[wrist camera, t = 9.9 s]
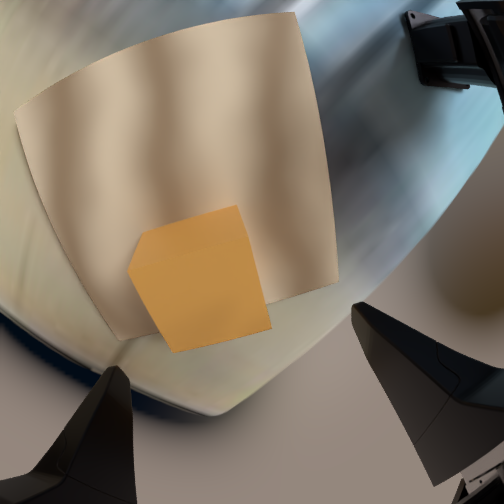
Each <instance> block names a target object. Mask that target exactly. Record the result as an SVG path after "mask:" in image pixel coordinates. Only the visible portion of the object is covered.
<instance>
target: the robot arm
mask: <svg viewBox="0 0 504 504" xmlns="http://www.w3.org/2000/svg"><path fill="white" fill-rule="evenodd" d="M456 4H457V6H458V7H459V9H460V10H462V12H463V14H464V15H457V16H450V17H444V18H439V17H435V16H431V15H428V14H424V13H420V12H416V11H406V12H405V17H406V20H407V24H408V28H409V31H410V35H411V39H412V43H413V48H414V52H415V57H416V62H417V67H418V73H419V78H420V82H421V84H422V85H424V86H437V87H450V88H460V89H469V88H470V85H478V86H486V87H493V88H497V90H498V93H499V96H500V100H501V103H502V106H503V107H502V110H503V113H504V0H460V1H458V2H456ZM411 16H412V17H411ZM425 78H426V81H425ZM351 317H352V318H351V321H352V325H353V328H354V330H355V333H356V335H357V337H358V340H359V342H360V344H361V346H362V349H363V351H364V354H365V356H366V358H367V360H368V362H369V364H370V366H371V368H372V369H373V371H374V373H375V374H376V376H377V378H378V380H379V382H380V383H381V385H382V387H383V389H384V391H385V393H386V394H387V396H388V398H389V400H390V401H391V403H392V405H393V407H394V409H395V411H396V413H397V415H398V416H399V418H400V420H401V422H402V424H403V426H404V428H405V430H406V432H407V434H408V436H409V437H410V439H411V441H412V443H413V445H414V447H415V449H416V451H417V453H418V455H419V457H420V459H421V461H422V463H423V465H424V468H425V470H426V472H427V474H428V476H429V478H430V480H431V482H432V484H433V486H434V487H435V486H437V485H439V484H440V483H442V482H444V481H446V480H447V479H449V478H451V477H453V476H454V475H456V474H457V473H459V472H461V474H462V476H463V479H461V481H460V484H459V486H458V489H457V492H456V494H455V497H454V499H453V502H452V504H504V369H501V368H496V367H493V366H490V365H488V364H485V363H483V362H480V361H478V360H475V359H473V358H470V357H468V356H466V355H463V354H461V353H459V352H457V351H454V350H453V349H451V348H449V347H447V346H445V345H443V344H441V343H439V342H436V341H435V340H434V339H432V338H430V337H428V336H426V335H424V334H422V333H420V332H419V331H417V330H415V329H413V328H411V327H409V326H408V325H406V324H404V323H402V322H400V321H398V320H396V319H394V318H393V317H391V316H389V315H387V314H385V313H383V312H381V311H380V310H378V309H376V308H374V307H372V306H370V305H368V304H367V303H365V302H358V303H356V304H353V305H352V308H351ZM133 456H134V454H133V413H132V402H131V390H130V381H129V378H128V377H127V376H126V375H125V373H124V372H123V371H122V370H121V369H120V368H119V367H118V366H111V367H108V368H107V369H106V370H105V372H104V373H103V375H102V376H101V377H100V379H99V380H98V381H97V383H96V384H95V385H94V387H93V388H92V390H91V391H90V392H89V394H88V395H87V396H86V398H85V399H84V401H83V402H82V403H81V405H80V406H79V408H78V409H77V410H76V412H75V413H74V415H73V416H72V418H71V419H70V420H69V422H68V423H67V425H66V426H65V428H64V430H63V431H62V432H61V433H60V435H59V436H58V438H57V439H56V441H55V442H54V443H53V445H52V446H51V447H50V449H49V450H48V451H47V453H46V454H45V455H44V456H43V457H42V459H41V460H40V461H39V462H38V464H37V465H36V466H35V467H34V468H33V470H31V471H30V472H29V473H27V474H24V475H21V476H17V477H13V478H9V479H5V480H0V504H137V497H136V486H135V473H134V457H133Z"/></svg>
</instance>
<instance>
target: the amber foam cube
mask: <svg viewBox="0 0 504 504" xmlns="http://www.w3.org/2000/svg"><path fill="white" fill-rule="evenodd" d="M127 272H128V274H129V276H130V278H131V280H132V282H133V284H134V286H135V288H136V290H137V292H138V293H139V295H140V297H141V299H142V301H143V303H144V305H145V306H146V308H147V310H148V312H149V314H150V315H151V317H152V319H153V321H154V322H155V324H156V326H157V327H158V329H159V331H160V333H161V334H162V336H163V338H164V339H165V341H166V342H167V344H168V346H169V347H170V349H171V351H172V352H173V353H177V352H181V351H186V350H190V349H195V348H199V347H203V346H208V345H212V344H216V343H220V342H224V341H228V340H232V339H236V338H240V337H243V336H247V335H251V334H254V333H258V332H262V331H265V330H269V329H272V327H271V323H270V319H269V315H268V311H267V307H266V303H265V299H264V296H263V292H262V288H261V284H260V280H259V276H258V272H257V268H256V264H255V260H254V256H253V252H252V248H251V245H250V241H249V237H248V234H247V231H246V228H245V226H244V223H243V220H242V218H241V215H240V212H239V209H238V207H237V205H233V206H229V207H226V208H222V209H219V210H215V211H212V212H208V213H205V214H201V215H198V216H194V217H191V218H188V219H184V220H181V221H178V222H174V223H171V224H168V225H165V226H162V227H158V228H155V229H152V230H149V231H146V232H143V233H142V235H141V238H140V240H139V243H138V245H137V247H136V250H135V252H134V255H133V257H132V260H131V262H130V265H129V267H128V270H127Z"/></svg>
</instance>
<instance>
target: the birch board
mask: <svg viewBox="0 0 504 504" xmlns="http://www.w3.org/2000/svg"><path fill="white" fill-rule="evenodd" d="M14 115H15V119H16V123H17V127H18V131H19V135H20V139H21V142H22V146H23V149H24V152H25V156H26V159H27V162H28V165H29V168H30V171H31V174H32V177H33V179H34V182H35V185H36V188H37V190H38V193H39V195H40V198H41V200H42V203H43V205H44V208H45V210H46V212H47V215H48V217H49V219H50V221H51V224H52V226H53V228H54V230H55V232H56V235H57V237H58V239H59V241H60V243H61V245H62V247H63V249H64V251H65V253H66V255H67V257H68V259H69V261H70V262H71V264H72V266H73V268H74V270H75V272H76V273H77V275H78V277H79V279H80V281H81V282H82V284H83V286H84V287H85V289H86V291H87V293H88V294H89V296H90V298H91V299H92V301H93V302H94V304H95V306H96V307H97V309H98V310H99V312H100V313H101V315H102V317H103V318H104V320H105V321H106V323H107V324H108V326H109V327H110V329H111V330H112V331H113V333H114V334H115V336H116V337H117V339H118V340H119V341H122V340H127V339H132V338H136V337H141V336H145V335H150V334H154V333H159V332H160V331H159V329H158V327H157V326H156V324H155V322H154V321H153V319H152V317H151V315H150V314H149V312H148V310H147V308H146V306H145V305H144V303H143V301H142V299H141V297H140V295H139V293H138V292H137V290H136V288H135V286H134V284H133V282H132V280H131V278H130V276H129V274H128V272H127V270H128V267H129V265H130V262H131V260H132V257H133V255H134V252H135V250H136V247H137V245H138V243H139V240H140V238H141V235H142V233H143V232H146V231H149V230H152V229H155V228H158V227H162V226H165V225H168V224H171V223H174V222H178V221H181V220H184V219H188V218H191V217H194V216H198V215H201V214H205V213H208V212H212V211H215V210H219V209H222V208H226V207H229V206H233V205H237V207H238V209H239V212H240V215H241V218H242V220H243V223H244V226H245V228H246V231H247V234H248V237H249V241H250V245H251V248H252V252H253V256H254V260H255V264H256V268H257V272H258V276H259V280H260V284H261V288H262V292H263V296H264V299H265V303H266V304H270V303H273V302H276V301H280V300H283V299H286V298H290V297H293V296H296V295H299V294H303V293H306V292H309V291H312V290H315V289H318V288H321V287H325V286H328V285H331V284H334V283H337V282H339V276H338V260H337V246H336V234H335V223H334V214H333V204H332V196H331V188H330V180H329V172H328V165H327V158H326V152H325V146H324V139H323V133H322V128H321V122H320V117H319V111H318V106H317V101H316V96H315V91H314V87H313V82H312V78H311V73H310V69H309V65H308V60H307V56H306V52H305V48H304V44H303V41H302V37H301V33H300V29H299V26H298V22H297V19H296V15H295V12H284V13H272V14H262V15H254V16H246V17H240V18H233V19H228V20H222V21H217V22H212V23H208V24H203V25H199V26H195V27H191V28H187V29H183V30H179V31H176V32H173V33H169V34H166V35H163V36H160V37H156V38H153V39H150V40H148V41H145V42H142V43H139V44H137V45H134V46H131V47H129V48H126V49H124V50H121V51H119V52H117V53H114V54H112V55H110V56H107V57H105V58H103V59H101V60H99V61H96V62H94V63H92V64H90V65H88V66H86V67H84V68H82V69H80V70H78V71H77V72H75V73H73V74H71V75H69V76H67V77H66V78H64V79H62V80H60V81H59V82H57V83H55V84H54V85H52V86H50V87H49V88H47V89H45V90H44V91H42V92H41V93H39V94H38V95H36V96H35V97H33V98H32V99H30V100H29V101H27V102H26V103H24V104H23V105H22V106H20V107H19V108H17V109H16V110H15V111H14Z"/></svg>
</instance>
